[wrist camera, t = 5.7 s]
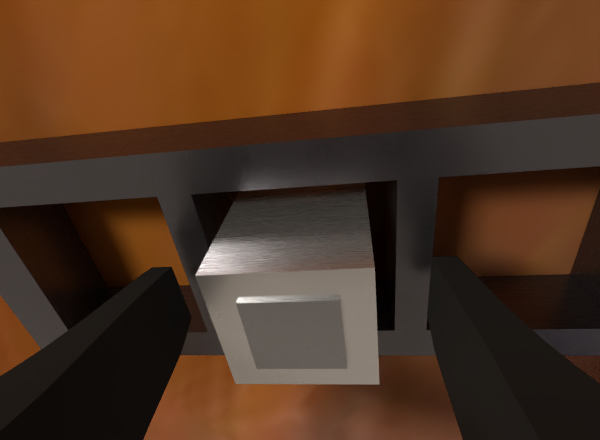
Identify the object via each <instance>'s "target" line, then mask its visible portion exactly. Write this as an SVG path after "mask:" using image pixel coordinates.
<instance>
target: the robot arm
mask: <svg viewBox="0 0 600 440" xmlns="http://www.w3.org/2000/svg"><path fill="white" fill-rule="evenodd" d="M427 315H428V321H429V326H430V331H431V336H432V341H433V346H434V351H435V354H436V357H437V360H438V363H439V367H440V370H441V373H442V376H443V379H444V382H445V385H446V388H447V391H448V395H449V398H450V401H451V404H452V407H453V410H454V413H455V416H456V419H457V422H458V425H459V429H460V432H461V435H462V438H463V440H600V384H599V383H598V382H597V381H595V380H594V379H593V378H591V377H590V376H589V375H587V374H586V373H585V372H583V371H582V370H581V369H579V368H578V367H577V366H575V365H574V364H573V363H572V362H570V361H569V360H568V359H566V358H565V357H564V356H563V355H562V354H560V353H559V352H558V351H557V350H556V349H554V348H553V347H552V346H551V345H550V344H548V343H547V342H546V341H545V340H544V339H543V338H541V337H540V336H539V335H538V334H537V333H536V332H534V331H533V330H532V329H531V328H530V327H529V326H528V325H527V324H526V323H524V322H523V321H522V320H521V319H520V318H519V317H518V316H517V315H516V314H515V313H514V312H513V311H512V310H510V309H509V308H508V307H507V306H506V305H505V304H504V303H503V302H502V301H501V300H500V299H499V298H498V297H497V296H496V295H495V294H494V293H493V292H492V291H491V290H490V289H489V288H488V287H487V286H486V285H485V284H484V283H483V282H482V281H481V280H480V279H479V278H478V277H477V276H476V275H475V274H474V273H473V272H472V271H471V270H470V269H469V268H468V267H467V266H466V265H465V264H464V263H463V262H462V261H461V260H460V259H459V258H458V257H457V256H448V257H432V262H431V274H430V286H429V298H428V310H427ZM191 318H192V317H191V314H190V312H189V309H188V307H187V304H186V302H185V299H184V297H183V294H182V292H181V289H180V287H179V284H178V282H177V279H176V277H175V274H174V272H173V269H172V267H156V268H151V269H149V270H148V271H146V272H145V273H143V274H142V275H141V276H139V277H138V278H137V279H135V280H134V281H133V282H131V283H130V284H129V285H127V286H126V287H125V288H123V289H122V290H121V291H120V292H118V293H117V294H116V295H114V296H113V297H112V298H111V299H109V300H108V301H107V302H105V303H104V304H103V305H101V306H100V307H99V308H98V309H96V310H95V311H94V312H92V313H91V314H90V315H88V316H87V317H86V318H84V319H83V320H82V321H80V322H79V323H78V324H76V325H75V326H74V327H72V328H71V329H69V330H68V331H67V332H65V333H64V334H62V335H61V336H60V337H58V338H57V339H56V340H54V341H53V342H51V343H50V344H49V345H47V346H46V347H44V348H43V349H41V350H40V351H39V352H37V353H36V354H34V355H33V356H31V357H30V358H28V359H27V360H25V361H24V362H22V363H21V364H19V365H17V366H16V367H14V368H13V369H11V370H9V371H8V372H6V373H5V374H3V375H2V376H0V440H143V439H144V437H145V434H146V432H147V429H148V427H149V424H150V422H151V420H152V418H153V415H154V413H155V411H156V409H157V406H158V404H159V402H160V400H161V397H162V395H163V393H164V391H165V388H166V386H167V384H168V382H169V379H170V377H171V375H172V373H173V370H174V368H175V366H176V363H177V361H178V359H179V356H180V354H181V352H182V349H183V346H184V342H185V339H186V336H187V332H188V329H189V325H190V321H191Z"/></svg>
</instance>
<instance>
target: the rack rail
mask: <svg viewBox="0 0 600 440" xmlns="http://www.w3.org/2000/svg"><path fill="white" fill-rule="evenodd" d="M596 166H600V83H592V84H582V85H572V86H562V87H552V88H542V89H532V90H522V91H512V92H502V93H492V94H482V95H472V96H462V97H452V98H442V99H432V100H422V101H412V102H402V103H392V104H382V105H372V106H362V107H352V108H342V109H332V110H322V111H312V112H302V113H292V114H282V115H272V116H262V117H252V118H242V119H232V120H222V121H212V122H202V123H192V124H182V125H172V126H162V127H152V128H141V129H131V130H121V131H111V132H101V133H91V134H81V135H71V136H61V137H51V138H41V139H31V140H21V141H11V142H1V143H0V295H1V296H2V297H3V299H4V300H5V301H6V303H7V304H8V305H9V307H10V308H11V309H12V311H13V312H14V313H15V315H16V316H17V317H18V319H19V320H20V321H21V323H22V324H23V325H24V327H25V328H26V329H27V331H28V332H29V333H30V335H31V336H32V337H33V339H34V340H35V341H36V343H37V344H38V345H39V347H40V348H41V349H43V348H44V347H46V346H47V345H49V344H50V343H51V342H53V341H54V340H56V339H57V338H58V337H60V336H61V335H62V334H64V333H65V332H67V331H68V330H69V329H71V328H72V327H74V326H75V325H76V324H78V323H79V322H80V321H82V320H83V319H84V318H86V317H87V316H88V315H90V314H91V313H92V312H94V311H95V310H96V309H98V308H99V307H100V306H101V305H103V304H104V303H105V302H107V301H108V300H109V299H111V298H112V297H113V296H114V295H116V294H117V293H118V292H120V291H121V290H122V289H123V288H106V286H105V284H104V282H103V281H102V279H101V277H100V275H99V273H98V271H97V269H96V268H95V266H94V264H93V262H92V260H91V258H90V256H89V255H88V253H87V251H86V249H85V247H84V245H83V243H82V242H81V240H80V238H79V236H78V234H77V232H76V230H75V229H74V227H73V225H72V223H71V221H70V219H69V217H68V216H67V214H66V212H65V210H64V208H63V206H62V205H61V203H74V202H88V201H103V200H118V199H132V198H147V197H157V198H158V201H159V204H160V206H161V209H162V212H163V214H164V217H165V220H166V222H167V225H168V227H169V230H170V233H171V235H172V238H173V241H174V243H175V246H176V249H177V251H178V254H179V257H180V259H181V262H182V265H183V267H184V270H185V273H186V275H187V278H188V281H189V283H190V286H179V287H180V289H181V292H182V294H183V297H184V299H185V302H186V304H187V307H188V309H189V312H190V314H191V317H192V318H191V321H190V325H189V329H188V332H187V336H186V339H185V342H184V346H183V349H182V352H181V354H180V355H225V354H224V351H223V349H222V346H221V343H220V341H219V338H218V335H217V333H216V330H215V327H214V325H213V322H212V319H211V317H210V314H209V311H208V309H207V306H206V304H205V301H204V298H203V296H202V293H201V290H200V288H199V285H198V282H197V280H196V277H195V275H196V273H197V271H198V269H199V267H200V265H201V263H202V261H203V260H204V258H205V256H206V254H207V252H208V250H209V248H210V246H211V244H212V242H213V240H214V238H215V237H216V235H217V233H218V231H219V229H220V227H221V225H222V223H223V221H224V219H225V217H226V215H227V214H228V212H229V210H230V205H229V202H228V198H227V194H226V192H234V191H248V190H263V189H277V188H292V187H306V186H321V185H335V184H350V183H364V182H379V181H387V280H375V284H376V309H377V334H378V355H436V354H435V351H434V346H433V341H432V336H431V331H430V326H429V321H428V315H427V310H428V298H429V286H430V274H431V262H432V256H433V244H434V232H435V220H436V209H437V197H438V185H439V177H451V176H466V175H480V174H495V173H509V172H524V171H538V170H553V169H567V168H582V167H596ZM478 278H479V279H480V280H481V281H482V282H483V283H484V284H485V285H486V286H487V287H488V288H489V289H490V290H491V291H492V292H493V293H494V294H495V295H496V296H497V297H498V298H499V299H500V300H501V301H502V302H503V303H504V304H505V305H506V306H507V307H508V308H509V309H510V310H512V311H513V312H514V313H515V314H516V315H517V316H518V317H519V318H520V319H521V320H522V321H523V322H524V323H526V324H527V325H528V326H529V327H530V328H531V329H532V330H533V331H534V332H536V333H537V334H538V335H539V336H540V337H541V338H543V339H544V340H545V341H546V342H547V343H548V344H550V345H551V346H552V347H553V348H554V349H556V350H557V351H558V352H559V353H560V354H562V355H600V190H599V193H598V196H597V199H596V202H595V205H594V207H593V210H592V213H591V216H590V219H589V222H588V225H587V228H586V231H585V233H584V236H583V239H582V242H581V245H580V248H579V251H578V254H577V257H576V259H575V262H574V265H573V268H572V271H571V274H570V275H537V276H502V277H478Z"/></svg>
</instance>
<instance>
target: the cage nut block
mask: <svg viewBox="0 0 600 440" xmlns="http://www.w3.org/2000/svg"><path fill="white" fill-rule="evenodd" d="M195 277H196V280H197V282H198V285H199V288H200V290H201V293H202V296H203V298H204V301H205V304H206V306H207V309H208V311H209V314H210V317H211V319H212V322H213V325H214V327H215V330H216V333H217V335H218V338H219V341H220V343H221V346H222V349H223V351H224V354H225V357H226V359H227V362H228V365H229V367H230V370H231V372H232V375H233V378H234V380H235V383H236V384H377V385H380V384H379V359H378V334H377V309H376V284H375V265H374V256H373V248H372V240H371V232H370V223H369V215H368V207H367V199H366V190H365V182H364V183H350V184H335V185H321V186H306V187H292V188H277V189H263V190H248V191H239V193H238V194H237V196H236V198H235V200H234V202H233V204H232V206H231V208H230V210H229V212H228V214H227V215H226V217H225V219H224V221H223V223H222V225H221V227H220V229H219V231H218V233H217V235H216V237H215V238H214V240H213V242H212V244H211V246H210V248H209V250H208V252H207V254H206V256H205V258H204V260H203V261H202V263H201V265H200V267H199V269H198V271H197V273H196V275H195Z"/></svg>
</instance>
